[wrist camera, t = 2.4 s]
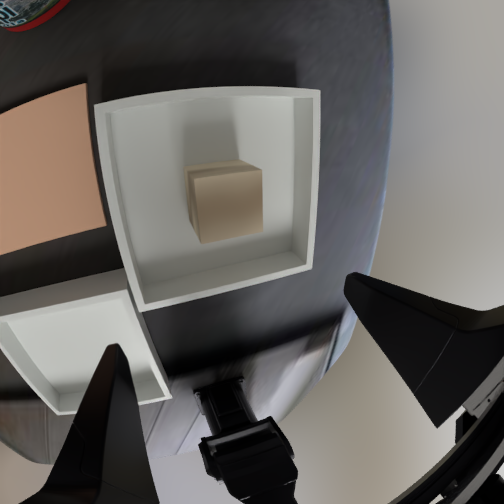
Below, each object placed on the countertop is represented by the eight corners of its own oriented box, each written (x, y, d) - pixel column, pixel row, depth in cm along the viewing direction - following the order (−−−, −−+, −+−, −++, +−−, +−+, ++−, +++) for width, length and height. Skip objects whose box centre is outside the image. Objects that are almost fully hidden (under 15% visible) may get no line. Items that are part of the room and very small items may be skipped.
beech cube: (241, 211, 21) (263, 231, 18) (189, 220, 20) (201, 244, 16) (239, 159, 19) (262, 169, 16) (183, 166, 18) (193, 179, 14)
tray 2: (294, 252, 25) (311, 268, 23) (137, 289, 21) (139, 312, 18) (297, 91, 18) (320, 90, 16) (101, 107, 14) (93, 105, 11)
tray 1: (167, 376, 27) (172, 398, 24) (58, 394, 22) (57, 415, 20) (127, 267, 20) (126, 289, 17) (-8, 298, 15) (-18, 320, 13)
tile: (107, 222, 18) (106, 225, 17) (1, 252, 14) (-1, 255, 14) (87, 84, 13) (85, 82, 12) (-27, 130, 9) (-31, 130, 9)
